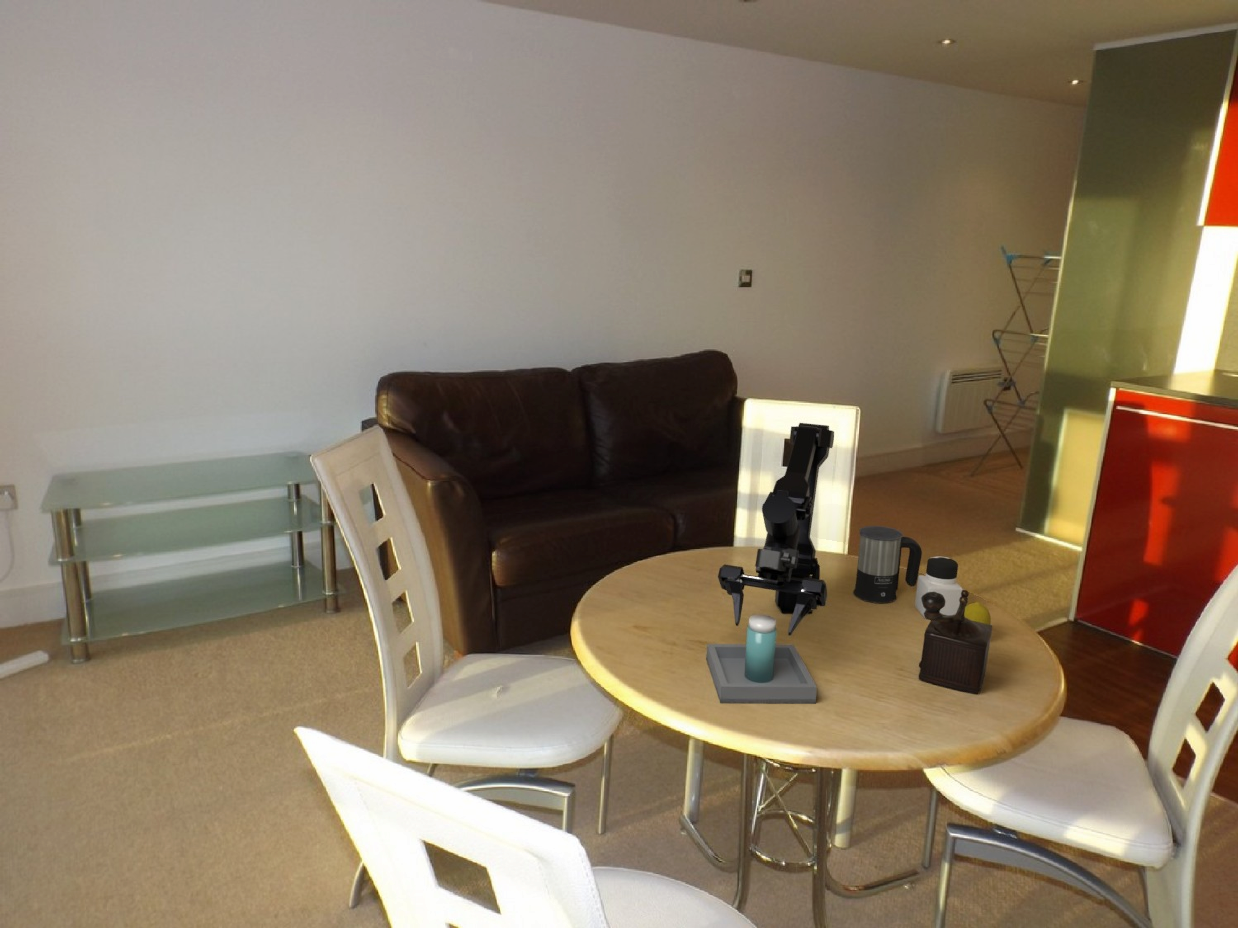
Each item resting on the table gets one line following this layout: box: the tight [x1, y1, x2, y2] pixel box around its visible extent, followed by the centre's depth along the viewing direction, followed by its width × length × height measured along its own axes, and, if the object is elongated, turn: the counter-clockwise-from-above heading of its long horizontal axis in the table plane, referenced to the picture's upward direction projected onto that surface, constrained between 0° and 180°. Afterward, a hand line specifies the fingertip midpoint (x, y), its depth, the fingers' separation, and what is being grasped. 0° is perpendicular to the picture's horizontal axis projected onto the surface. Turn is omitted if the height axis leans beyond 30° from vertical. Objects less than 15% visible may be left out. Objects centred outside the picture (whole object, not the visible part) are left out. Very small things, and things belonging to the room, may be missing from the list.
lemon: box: [964, 601, 992, 625], centre depth 173 cm, size 6×6×8 cm
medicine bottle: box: [914, 556, 964, 620], centre depth 185 cm, size 7×7×12 cm
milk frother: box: [852, 525, 923, 604], centre depth 197 cm, size 14×16×15 cm
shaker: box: [744, 614, 778, 683], centre depth 153 cm, size 5×5×10 cm
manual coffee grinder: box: [918, 589, 994, 696], centre depth 155 cm, size 16×11×18 cm
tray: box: [705, 643, 818, 705], centre depth 154 cm, size 16×16×3 cm
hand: (762, 629), depth 153 cm, fingers open, 9 cm apart
